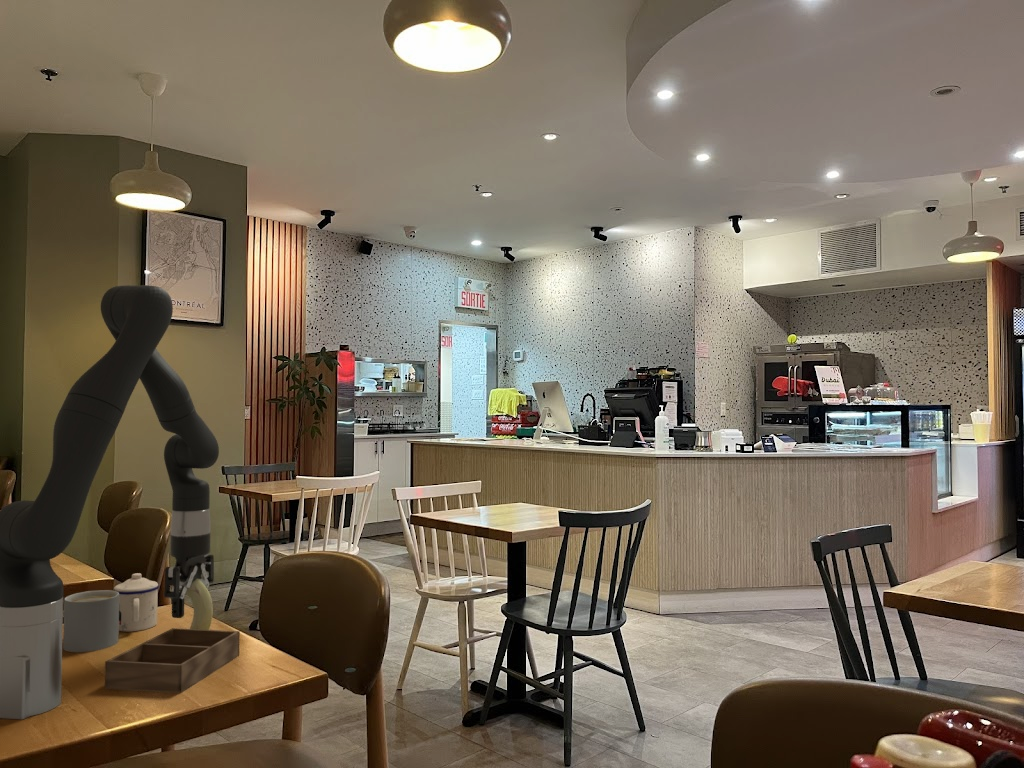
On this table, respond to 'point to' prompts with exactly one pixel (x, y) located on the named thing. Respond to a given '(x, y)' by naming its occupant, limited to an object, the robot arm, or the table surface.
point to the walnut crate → (172, 660)
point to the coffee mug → (91, 621)
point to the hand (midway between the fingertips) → (189, 611)
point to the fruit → (200, 605)
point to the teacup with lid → (137, 603)
